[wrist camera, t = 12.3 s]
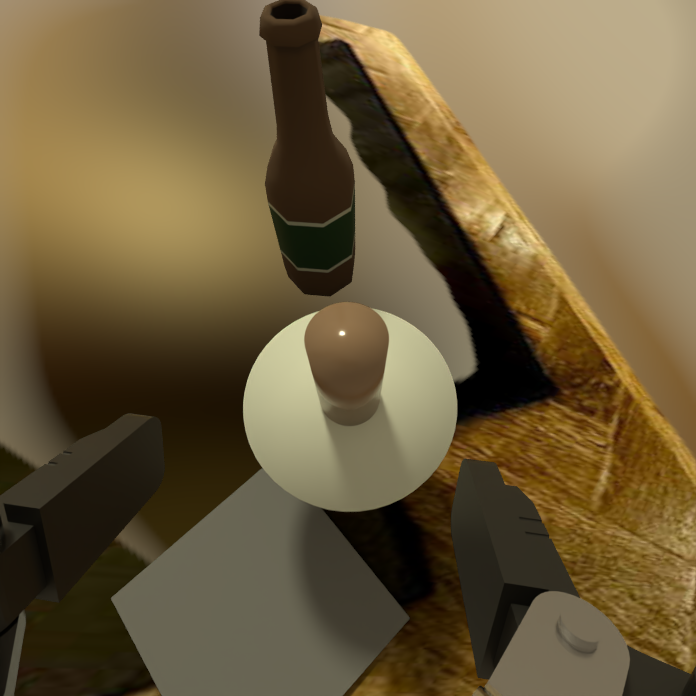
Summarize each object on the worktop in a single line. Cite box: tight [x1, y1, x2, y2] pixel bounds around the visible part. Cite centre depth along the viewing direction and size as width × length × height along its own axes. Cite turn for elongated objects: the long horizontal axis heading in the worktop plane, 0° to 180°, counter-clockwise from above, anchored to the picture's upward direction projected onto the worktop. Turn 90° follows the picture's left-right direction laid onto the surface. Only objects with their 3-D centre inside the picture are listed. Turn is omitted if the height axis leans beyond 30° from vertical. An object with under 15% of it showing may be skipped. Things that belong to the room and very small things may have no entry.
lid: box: [243, 302, 457, 512], centre depth 22 cm, size 14×14×9 cm
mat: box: [111, 468, 410, 696], centre depth 29 cm, size 16×16×1 cm
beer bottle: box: [260, 0, 355, 296], centre depth 33 cm, size 8×8×24 cm
